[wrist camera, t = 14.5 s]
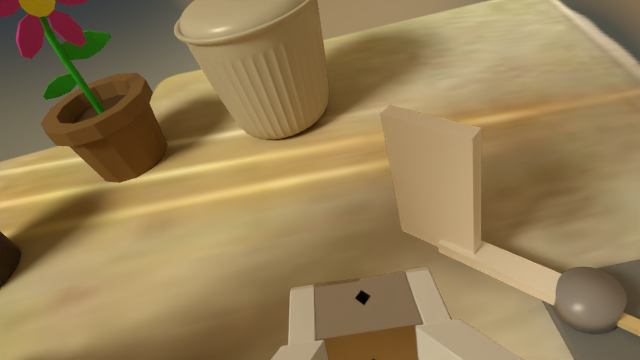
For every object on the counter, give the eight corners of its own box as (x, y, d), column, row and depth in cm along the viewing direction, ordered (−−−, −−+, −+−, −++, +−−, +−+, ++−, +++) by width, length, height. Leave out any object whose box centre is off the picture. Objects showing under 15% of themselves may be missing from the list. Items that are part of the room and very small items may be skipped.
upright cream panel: (392, 241, 38) (368, 124, 30) (417, 212, 40) (400, 94, 31) (806, 441, 22) (1009, 312, 14) (815, 378, 24) (1001, 229, 15)
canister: (242, 177, 53) (160, 13, 39) (217, 114, 66) (149, -24, 53) (370, 119, 55) (334, -55, 41) (320, 70, 69) (280, -74, 55)
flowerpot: (120, 205, 55) (-76, -38, 36) (71, 178, 63) (-110, -32, 44) (199, 139, 62) (72, -92, 43) (146, 122, 70) (19, -78, 51)
